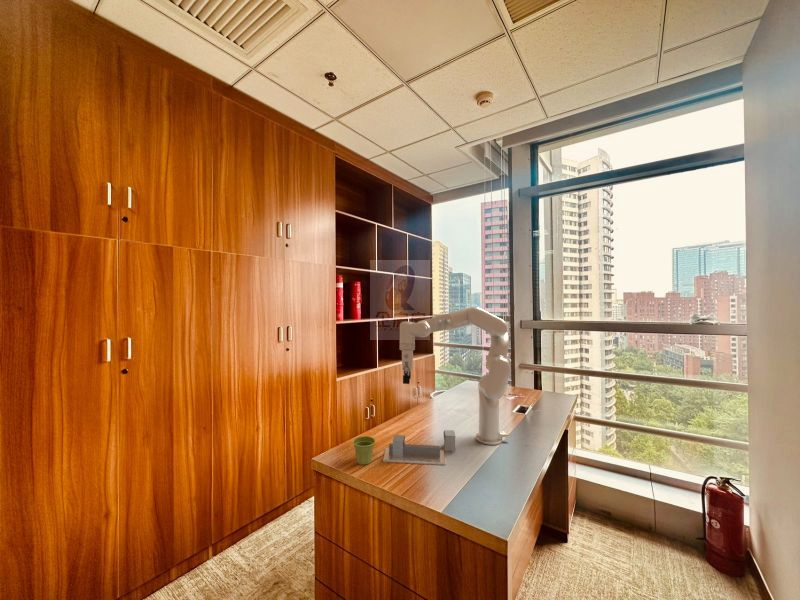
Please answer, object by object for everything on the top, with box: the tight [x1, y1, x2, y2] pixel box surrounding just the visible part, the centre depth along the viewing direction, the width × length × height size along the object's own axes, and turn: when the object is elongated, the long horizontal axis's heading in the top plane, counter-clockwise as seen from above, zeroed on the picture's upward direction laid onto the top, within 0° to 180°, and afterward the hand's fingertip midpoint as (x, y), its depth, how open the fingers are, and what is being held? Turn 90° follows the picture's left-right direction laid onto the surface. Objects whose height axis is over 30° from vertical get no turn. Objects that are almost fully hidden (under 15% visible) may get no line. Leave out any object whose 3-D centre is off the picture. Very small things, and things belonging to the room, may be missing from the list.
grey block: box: [443, 429, 456, 452], centre depth 145 cm, size 5×6×7 cm
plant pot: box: [352, 435, 376, 466], centre depth 132 cm, size 9×9×9 cm
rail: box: [382, 434, 446, 466], centre depth 137 cm, size 26×11×8 cm, turn 86°
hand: (406, 381), depth 156 cm, fingers open, 9 cm apart
